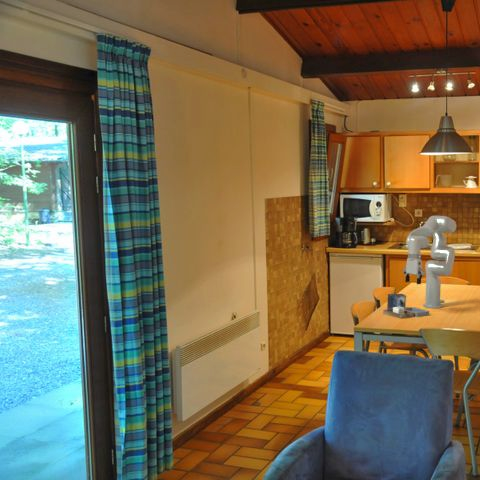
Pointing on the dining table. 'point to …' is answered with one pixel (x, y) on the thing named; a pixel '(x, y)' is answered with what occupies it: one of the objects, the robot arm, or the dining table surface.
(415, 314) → the charcoal tray
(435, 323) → the dining table surface
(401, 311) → the letter cube
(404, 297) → the small box
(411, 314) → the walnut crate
